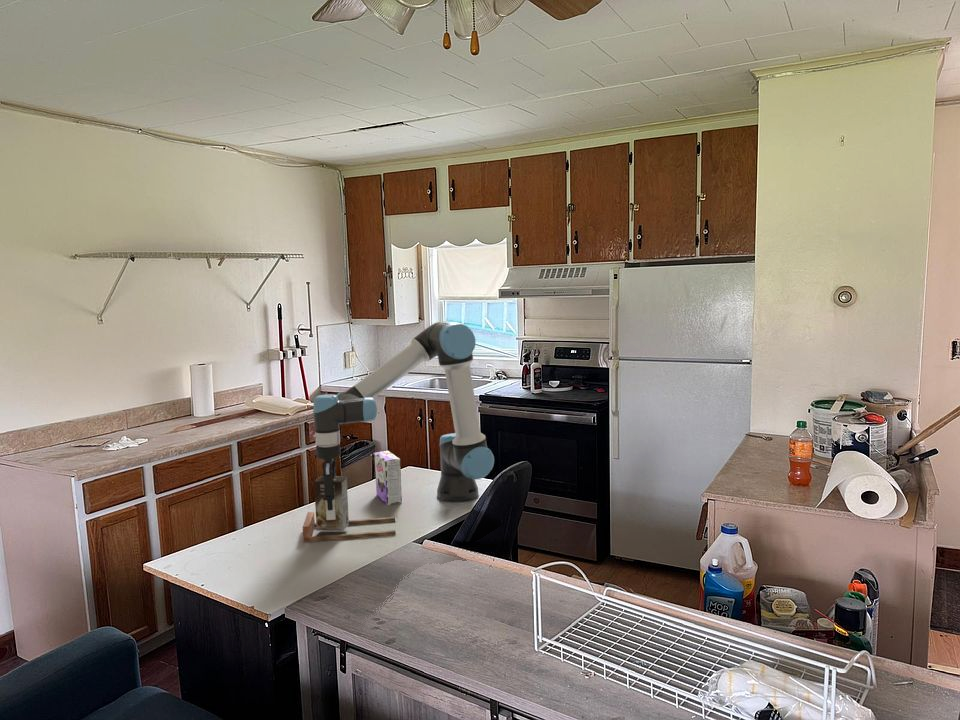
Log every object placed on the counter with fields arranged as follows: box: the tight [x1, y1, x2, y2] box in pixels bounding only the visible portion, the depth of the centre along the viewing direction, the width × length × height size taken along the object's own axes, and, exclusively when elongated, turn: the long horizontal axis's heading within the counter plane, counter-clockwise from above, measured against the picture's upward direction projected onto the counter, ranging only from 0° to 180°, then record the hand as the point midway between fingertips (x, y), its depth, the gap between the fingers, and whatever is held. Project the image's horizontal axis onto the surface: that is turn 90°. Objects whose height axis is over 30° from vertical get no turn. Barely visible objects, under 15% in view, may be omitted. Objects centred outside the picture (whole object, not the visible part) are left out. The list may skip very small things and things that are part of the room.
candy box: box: [373, 450, 403, 506], centre depth 245 cm, size 14×6×16 cm, turn 25°
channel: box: [302, 511, 397, 543], centre depth 214 cm, size 28×13×5 cm, turn 98°
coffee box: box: [313, 475, 350, 532], centre depth 213 cm, size 9×6×16 cm
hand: (332, 515), depth 213 cm, fingers closed on coffee box, 7 cm apart
